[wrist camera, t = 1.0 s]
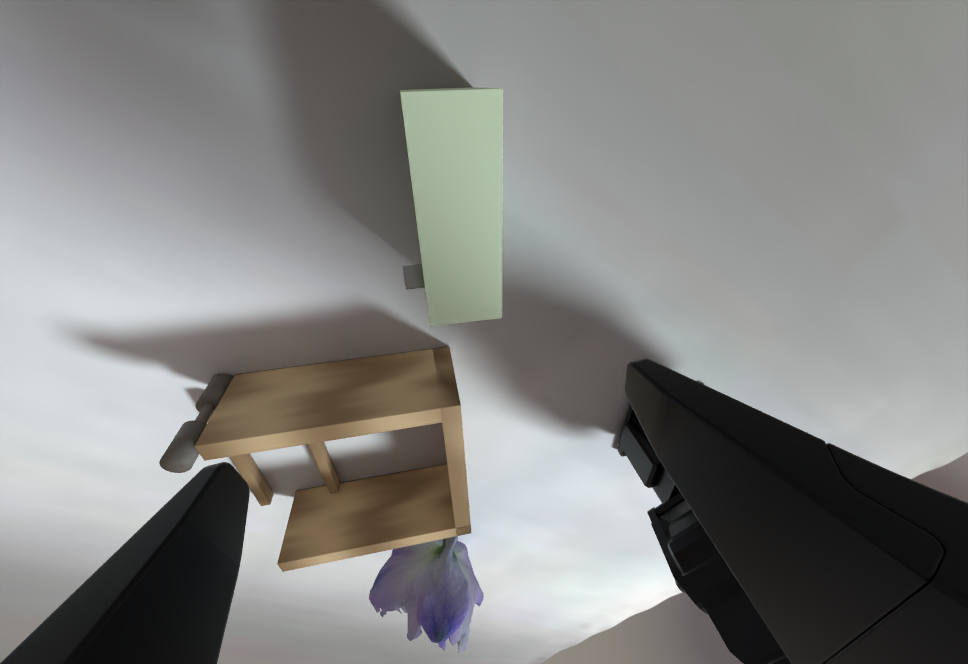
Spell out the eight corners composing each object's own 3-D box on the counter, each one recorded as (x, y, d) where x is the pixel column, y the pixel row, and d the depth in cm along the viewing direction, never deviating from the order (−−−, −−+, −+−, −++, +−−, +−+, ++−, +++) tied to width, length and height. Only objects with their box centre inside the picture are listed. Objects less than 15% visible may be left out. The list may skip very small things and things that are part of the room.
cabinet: (449, 343, 22) (461, 409, 18) (461, 470, 29) (472, 540, 25) (192, 377, 20) (133, 460, 16) (269, 504, 27) (244, 587, 23)
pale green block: (472, 87, 15) (502, 88, 11) (478, 265, 20) (502, 318, 15) (379, 90, 15) (371, 92, 10) (407, 272, 19) (410, 329, 15)
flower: (397, 573, 23) (410, 709, 24) (503, 514, 28) (509, 630, 30) (350, 505, 30) (362, 613, 32) (440, 469, 35) (447, 563, 37)
